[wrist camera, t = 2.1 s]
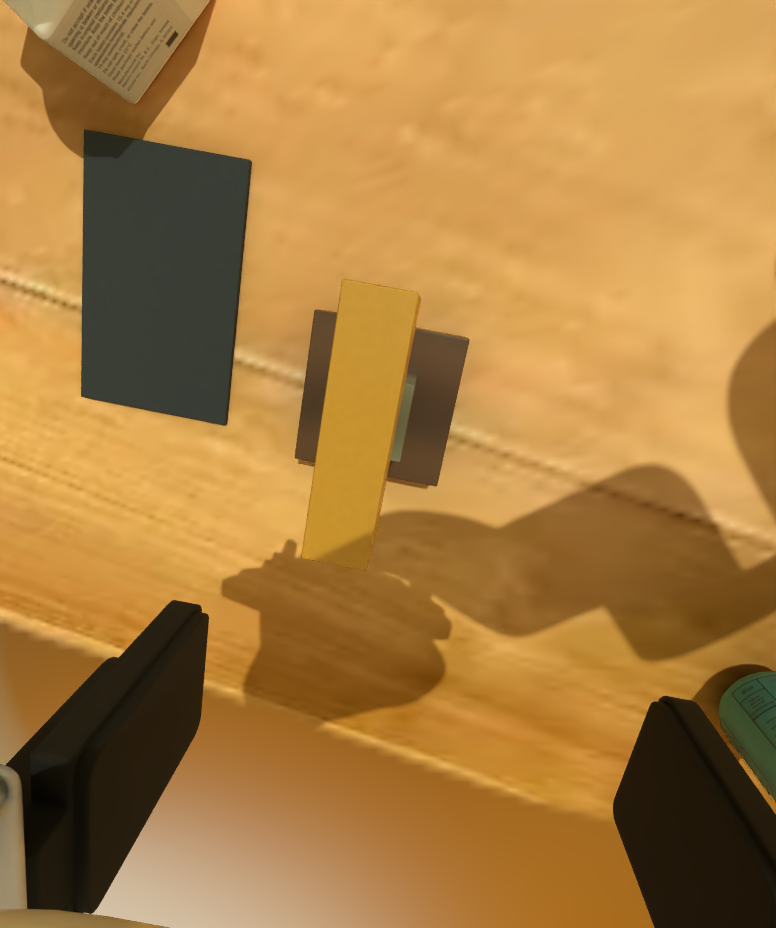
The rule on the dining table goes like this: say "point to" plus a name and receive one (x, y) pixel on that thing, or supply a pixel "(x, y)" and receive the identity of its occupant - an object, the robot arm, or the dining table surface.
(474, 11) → the dining table surface
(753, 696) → the beverage bottle
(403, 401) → the square knob plate
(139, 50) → the container
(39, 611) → the dining table surface
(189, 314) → the mat
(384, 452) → the bar
